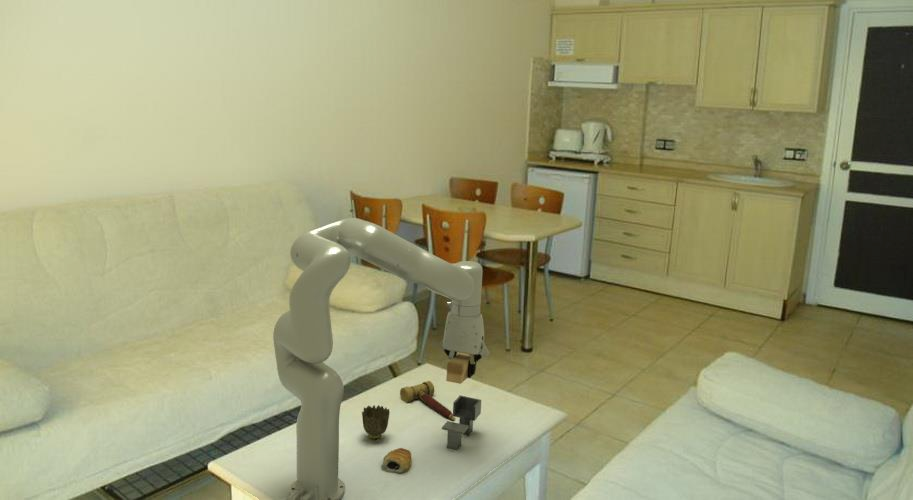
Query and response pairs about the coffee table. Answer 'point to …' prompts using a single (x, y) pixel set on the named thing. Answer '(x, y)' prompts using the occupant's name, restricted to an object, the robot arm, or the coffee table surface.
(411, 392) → the gavel
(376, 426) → the cup
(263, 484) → the coffee table surface
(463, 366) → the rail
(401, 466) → the pastry
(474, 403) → the cup bracket
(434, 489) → the coffee table surface
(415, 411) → the coffee table surface
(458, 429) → the grey tabbed slab
